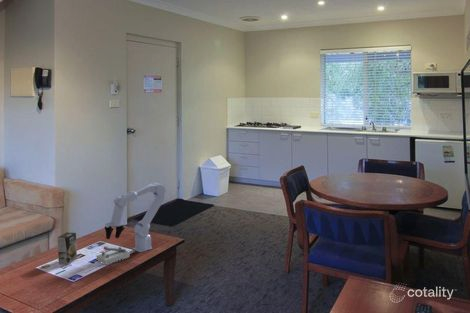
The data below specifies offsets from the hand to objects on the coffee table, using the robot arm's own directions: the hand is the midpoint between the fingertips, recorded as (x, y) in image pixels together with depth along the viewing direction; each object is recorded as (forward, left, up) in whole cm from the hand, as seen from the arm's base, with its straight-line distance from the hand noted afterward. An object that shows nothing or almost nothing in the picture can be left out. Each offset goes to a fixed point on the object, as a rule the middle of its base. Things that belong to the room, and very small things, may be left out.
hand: (112, 238), depth 238 cm
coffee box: (+22, -12, -11) cm, 28 cm away
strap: (+1, +4, -6) cm, 7 cm away
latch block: (+2, +4, -11) cm, 12 cm away
